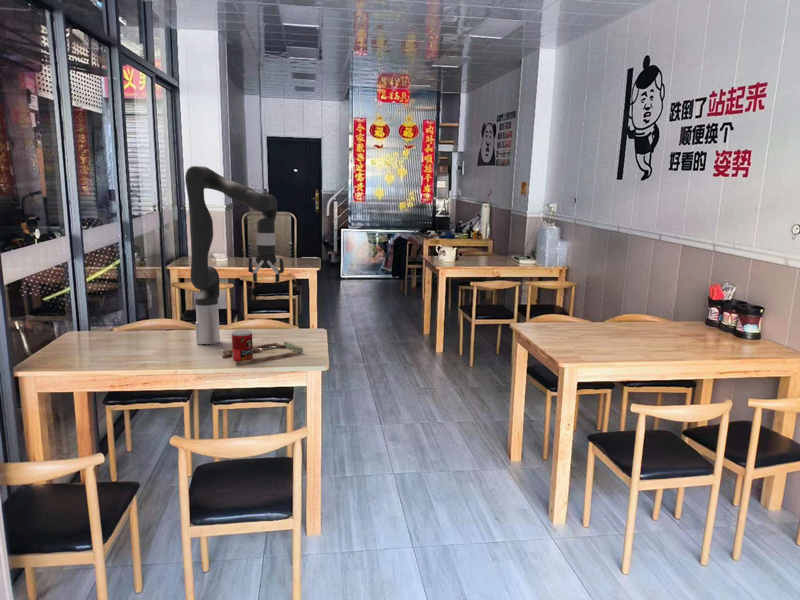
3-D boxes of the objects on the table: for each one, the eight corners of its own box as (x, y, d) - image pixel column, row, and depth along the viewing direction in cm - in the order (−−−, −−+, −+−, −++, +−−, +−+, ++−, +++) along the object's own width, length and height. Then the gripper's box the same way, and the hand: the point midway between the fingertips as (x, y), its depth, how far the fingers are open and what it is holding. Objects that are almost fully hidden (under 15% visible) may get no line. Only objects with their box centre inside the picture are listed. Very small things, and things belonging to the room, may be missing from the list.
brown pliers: (237, 365, 228) (236, 359, 227) (217, 354, 243) (217, 348, 243) (303, 354, 245) (302, 348, 244) (281, 344, 260) (280, 338, 260)
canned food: (242, 363, 232) (241, 335, 230) (228, 359, 236) (227, 332, 234) (257, 358, 238) (256, 331, 236) (243, 355, 242) (241, 329, 240)
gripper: (246, 244, 243) (247, 283, 246) (282, 245, 244) (282, 284, 247) (250, 242, 250) (250, 280, 253) (284, 243, 251) (284, 281, 254)
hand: (266, 282), depth 250 cm, fingers open, 8 cm apart
